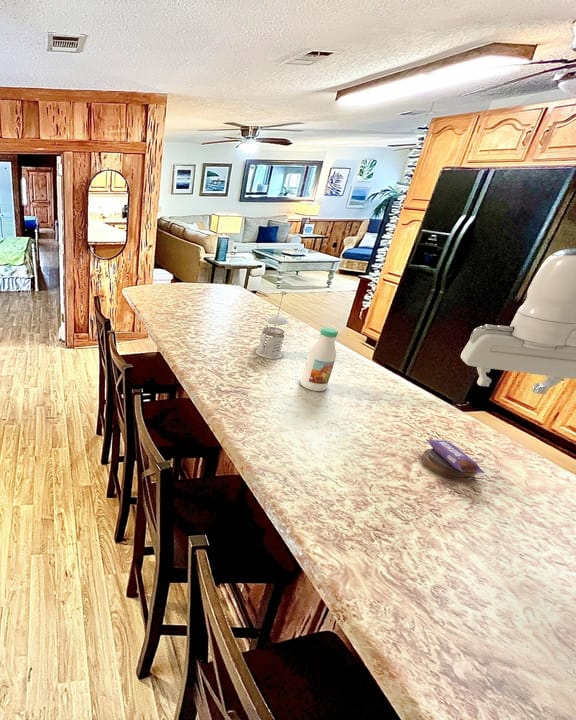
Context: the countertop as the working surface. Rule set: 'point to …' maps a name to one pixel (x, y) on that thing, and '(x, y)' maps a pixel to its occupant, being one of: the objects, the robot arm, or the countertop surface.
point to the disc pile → (444, 467)
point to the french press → (273, 342)
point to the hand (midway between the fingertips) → (509, 388)
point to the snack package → (454, 456)
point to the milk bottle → (320, 361)
